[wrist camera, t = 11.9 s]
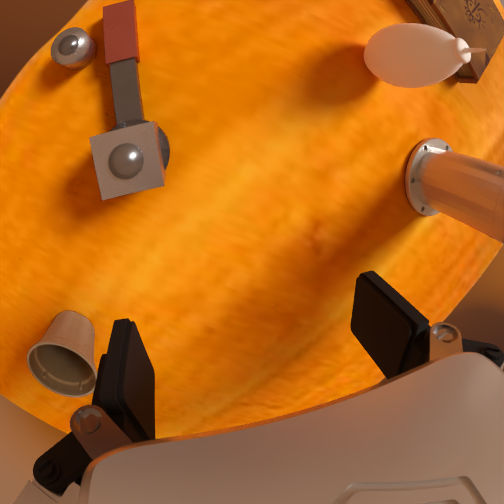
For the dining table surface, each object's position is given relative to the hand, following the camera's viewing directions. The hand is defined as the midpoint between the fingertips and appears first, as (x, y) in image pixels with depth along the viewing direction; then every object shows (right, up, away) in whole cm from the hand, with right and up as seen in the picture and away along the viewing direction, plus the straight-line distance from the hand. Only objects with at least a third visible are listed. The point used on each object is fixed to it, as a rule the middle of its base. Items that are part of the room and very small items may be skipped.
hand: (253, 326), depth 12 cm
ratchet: (-13, +19, +14) cm, 27 cm away
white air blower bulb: (+16, +28, +19) cm, 37 cm away
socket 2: (-11, +12, +14) cm, 22 cm away
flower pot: (-24, -7, +23) cm, 34 cm away
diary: (+35, +45, +17) cm, 60 cm away
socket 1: (-18, +24, +10) cm, 32 cm away
